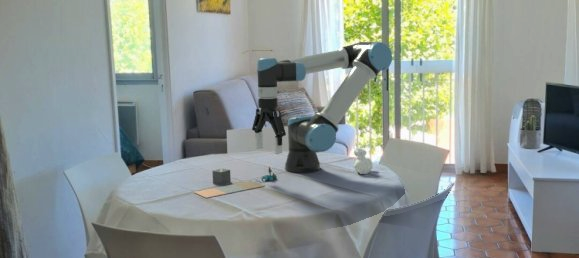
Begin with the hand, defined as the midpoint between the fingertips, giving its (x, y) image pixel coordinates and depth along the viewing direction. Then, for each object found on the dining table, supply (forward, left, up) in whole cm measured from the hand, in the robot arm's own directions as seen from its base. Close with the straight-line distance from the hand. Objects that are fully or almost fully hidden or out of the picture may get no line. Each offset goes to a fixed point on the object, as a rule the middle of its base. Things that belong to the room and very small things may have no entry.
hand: (268, 151), depth 225 cm
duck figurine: (-38, +13, -13) cm, 42 cm away
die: (+15, -12, -13) cm, 23 cm away
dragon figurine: (0, -2, -13) cm, 13 cm away
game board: (+18, 0, -12) cm, 22 cm away
